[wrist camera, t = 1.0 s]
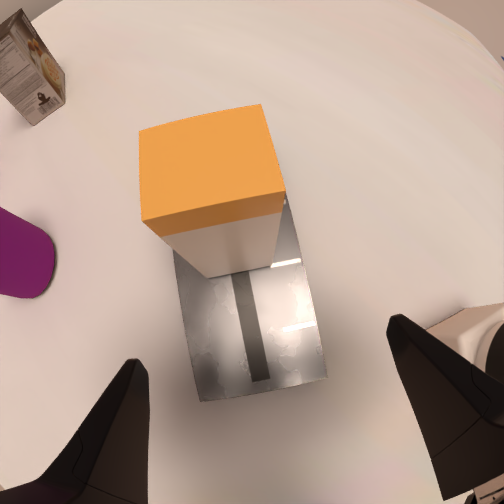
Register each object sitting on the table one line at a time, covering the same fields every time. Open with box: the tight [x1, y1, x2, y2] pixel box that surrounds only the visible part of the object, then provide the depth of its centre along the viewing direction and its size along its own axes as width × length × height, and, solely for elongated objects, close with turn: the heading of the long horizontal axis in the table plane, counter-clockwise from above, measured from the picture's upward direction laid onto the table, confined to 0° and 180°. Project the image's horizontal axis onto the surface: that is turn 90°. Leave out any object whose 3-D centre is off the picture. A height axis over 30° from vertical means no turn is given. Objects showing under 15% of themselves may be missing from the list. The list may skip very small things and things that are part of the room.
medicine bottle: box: [426, 303, 504, 384], centre depth 16 cm, size 7×7×12 cm
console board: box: [173, 193, 328, 402], centre depth 24 cm, size 21×10×2 cm, turn 11°
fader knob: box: [139, 104, 286, 278], centre depth 16 cm, size 4×5×13 cm
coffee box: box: [0, 8, 65, 126], centre depth 23 cm, size 9×6×16 cm
